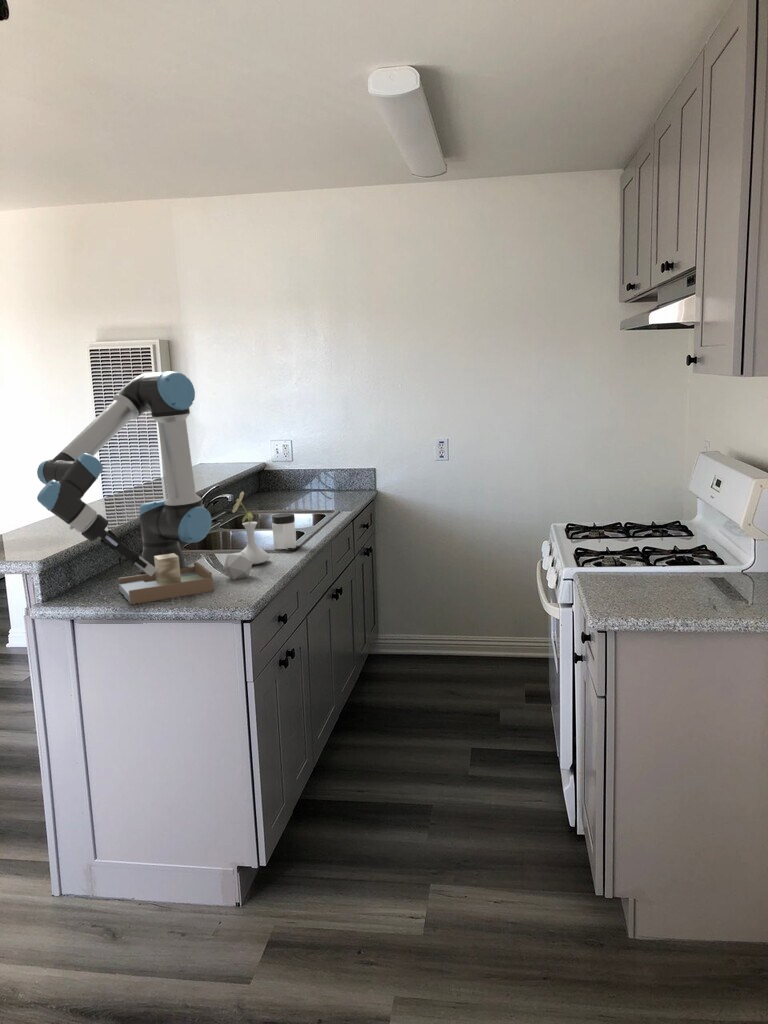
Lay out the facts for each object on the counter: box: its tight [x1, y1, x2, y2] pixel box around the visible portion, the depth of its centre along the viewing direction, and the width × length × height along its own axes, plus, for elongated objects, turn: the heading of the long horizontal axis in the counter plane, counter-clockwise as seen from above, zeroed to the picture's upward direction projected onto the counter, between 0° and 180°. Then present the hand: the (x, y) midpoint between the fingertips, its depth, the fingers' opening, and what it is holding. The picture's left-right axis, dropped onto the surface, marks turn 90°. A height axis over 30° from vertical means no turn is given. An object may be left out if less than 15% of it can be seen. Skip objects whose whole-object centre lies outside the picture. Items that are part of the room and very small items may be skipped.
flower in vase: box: [231, 491, 270, 566], centre depth 274 cm, size 13×11×25 cm
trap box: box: [118, 561, 214, 605], centre depth 245 cm, size 24×18×6 cm
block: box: [154, 553, 181, 585], centre depth 245 cm, size 6×6×8 cm
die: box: [222, 551, 253, 581], centre depth 257 cm, size 8×9×10 cm
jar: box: [271, 512, 297, 550], centre depth 299 cm, size 9×8×12 cm
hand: (153, 572), depth 243 cm, fingers closed
